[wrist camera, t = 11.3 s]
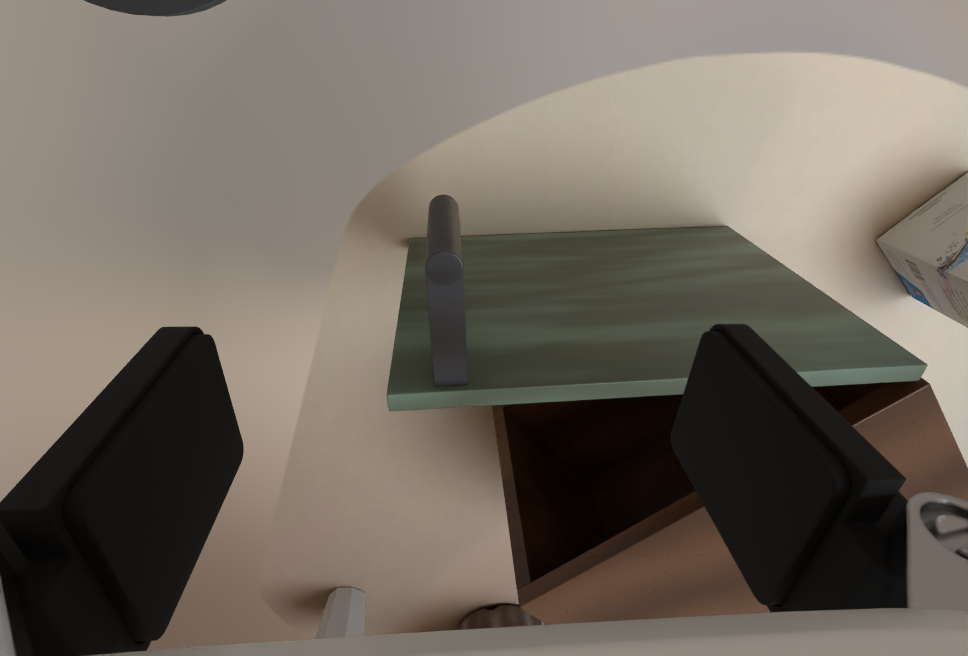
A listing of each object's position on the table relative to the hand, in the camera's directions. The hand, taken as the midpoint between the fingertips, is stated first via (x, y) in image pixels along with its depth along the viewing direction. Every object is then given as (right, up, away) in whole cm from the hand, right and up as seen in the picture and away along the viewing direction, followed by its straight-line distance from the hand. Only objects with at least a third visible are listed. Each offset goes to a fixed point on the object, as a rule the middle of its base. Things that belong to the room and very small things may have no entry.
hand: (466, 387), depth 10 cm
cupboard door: (+8, +11, +30) cm, 33 cm away
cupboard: (+16, -4, +40) cm, 43 cm away
